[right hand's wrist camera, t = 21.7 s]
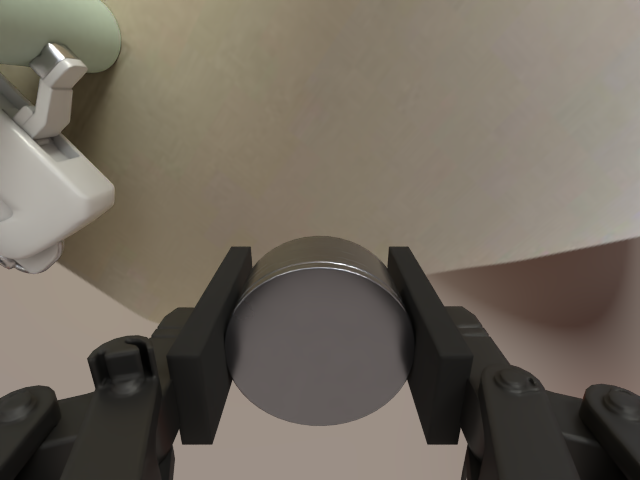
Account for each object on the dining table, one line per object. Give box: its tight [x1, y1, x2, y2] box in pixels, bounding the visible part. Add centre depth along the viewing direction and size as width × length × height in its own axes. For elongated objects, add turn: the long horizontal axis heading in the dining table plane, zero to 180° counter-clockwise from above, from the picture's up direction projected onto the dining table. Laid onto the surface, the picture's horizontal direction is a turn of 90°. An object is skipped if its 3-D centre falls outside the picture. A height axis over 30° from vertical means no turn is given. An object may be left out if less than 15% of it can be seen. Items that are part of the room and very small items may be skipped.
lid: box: [224, 236, 416, 426], centre depth 12 cm, size 5×5×2 cm
